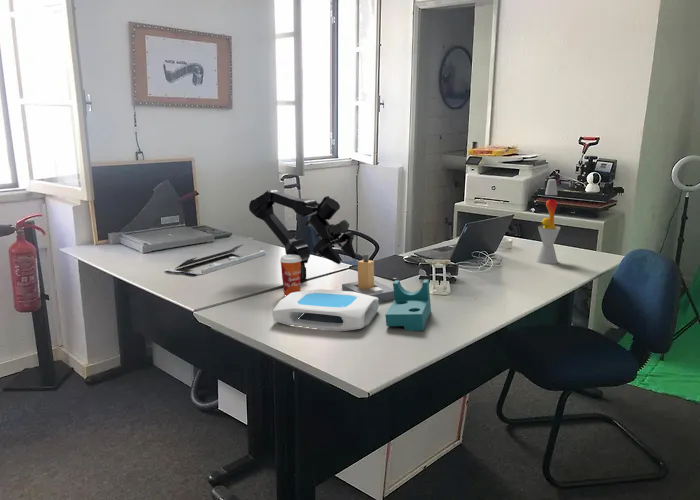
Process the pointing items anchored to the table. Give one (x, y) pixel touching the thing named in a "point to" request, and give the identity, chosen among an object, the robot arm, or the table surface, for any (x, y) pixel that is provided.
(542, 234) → the lava lamp
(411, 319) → the teal l-shaped bracket
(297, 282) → the paper cup
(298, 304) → the document scanner
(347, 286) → the socket plate
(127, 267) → the table surface
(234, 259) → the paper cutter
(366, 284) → the plug
